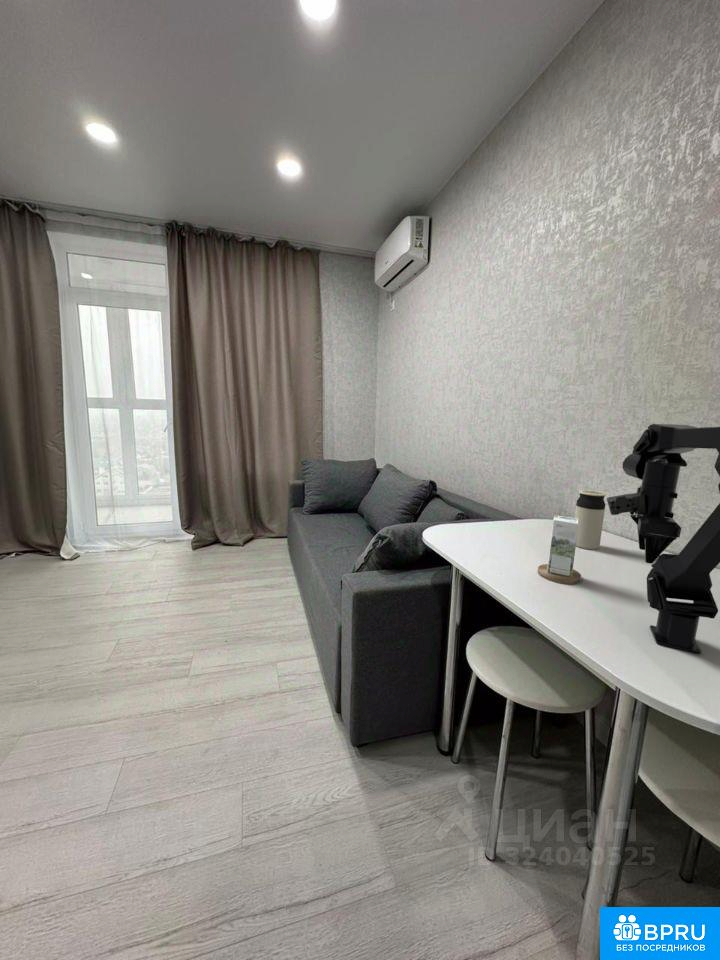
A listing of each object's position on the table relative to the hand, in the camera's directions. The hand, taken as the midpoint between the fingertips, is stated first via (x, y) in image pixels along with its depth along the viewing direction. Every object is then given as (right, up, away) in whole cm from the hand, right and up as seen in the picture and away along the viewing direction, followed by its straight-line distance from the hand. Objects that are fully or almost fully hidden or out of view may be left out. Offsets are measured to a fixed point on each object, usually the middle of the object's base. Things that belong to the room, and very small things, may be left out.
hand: (645, 555), depth 82 cm
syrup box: (-9, -8, +18) cm, 21 cm away
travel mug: (+13, -6, +43) cm, 45 cm away
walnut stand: (-9, -9, +18) cm, 22 cm away
